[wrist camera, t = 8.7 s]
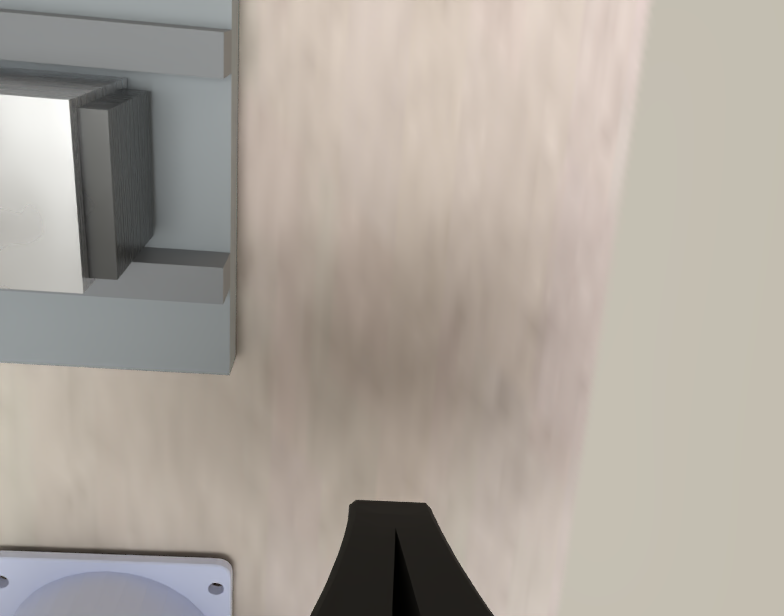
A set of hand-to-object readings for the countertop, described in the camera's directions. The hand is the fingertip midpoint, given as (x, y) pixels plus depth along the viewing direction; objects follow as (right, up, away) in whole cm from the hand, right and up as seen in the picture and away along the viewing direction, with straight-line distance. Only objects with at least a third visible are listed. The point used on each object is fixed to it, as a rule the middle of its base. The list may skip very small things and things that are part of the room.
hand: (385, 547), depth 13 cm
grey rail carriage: (-9, +8, +5) cm, 13 cm away
